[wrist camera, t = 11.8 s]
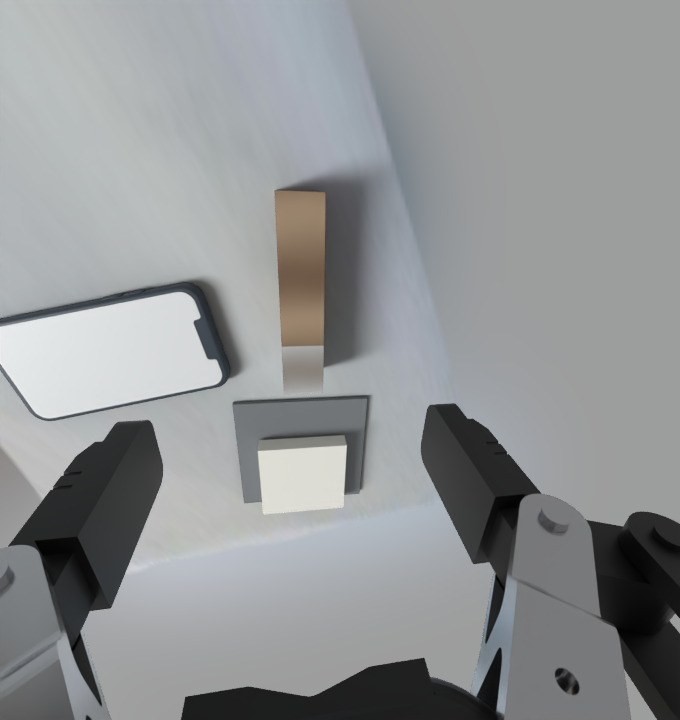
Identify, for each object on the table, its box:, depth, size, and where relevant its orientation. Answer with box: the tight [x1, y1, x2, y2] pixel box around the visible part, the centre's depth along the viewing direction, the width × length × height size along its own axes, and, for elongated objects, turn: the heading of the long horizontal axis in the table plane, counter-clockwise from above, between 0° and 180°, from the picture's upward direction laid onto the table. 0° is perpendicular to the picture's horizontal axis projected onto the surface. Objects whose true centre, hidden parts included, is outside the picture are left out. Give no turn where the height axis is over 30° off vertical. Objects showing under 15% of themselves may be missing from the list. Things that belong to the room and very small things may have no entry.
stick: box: [275, 190, 326, 395], centre depth 25 cm, size 14×3×4 cm, turn 178°
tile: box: [258, 435, 347, 514], centre depth 34 cm, size 2×8×8 cm
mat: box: [233, 396, 367, 503], centre depth 34 cm, size 12×12×1 cm
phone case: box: [0, 283, 230, 421], centre depth 27 cm, size 9×2×16 cm
